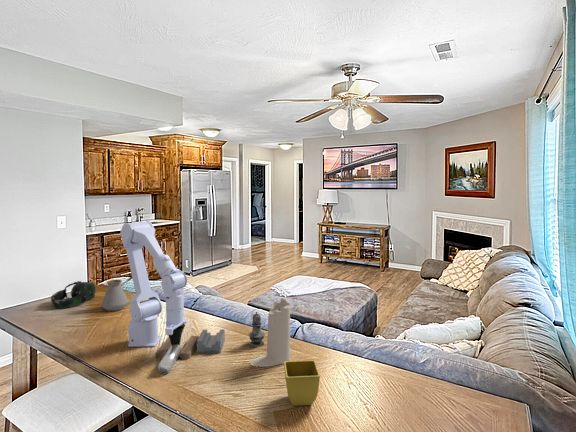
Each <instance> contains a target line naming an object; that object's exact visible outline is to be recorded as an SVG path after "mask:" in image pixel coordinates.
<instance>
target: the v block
mask: <svg viewBox="0 0 576 432" xmlns="http://www.w3.org/2000/svg"><path fill="white" fill-rule="evenodd" d="M198 336H199V338H198V340H197V346H196V353H197V354H221V352H222V349H223V347H224V343H225V340H226V331H225V328H224V329H221V328H220V329H219V331H218V332H217V333H216V335H215V334H213V335H212V333H211V332H208V329H202V330H201V333H200V334H199V335H198Z"/></svg>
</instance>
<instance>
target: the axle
mask: <svg viewBox="0 0 576 432" xmlns="http://www.w3.org/2000/svg"><path fill="white" fill-rule="evenodd" d="M182 350H183V347H182V346H181V344H180V345H178V344H173V345H172V346H171V347H170V348H169V350H168V351H167V353H166V354H165V356H164V357H163V359H160V362H158V363H159V364H158V365H157V369H158V371H159V373H160V374H163V375H164V374H165V375H166V374H169V373H170V372H171V370H172V369H173V367H174V365H175V364H176V362H177V360H178V358H179V357H180V356H181V355H180V353H181V352H182Z"/></svg>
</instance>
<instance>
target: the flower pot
mask: <svg viewBox="0 0 576 432" xmlns="http://www.w3.org/2000/svg"><path fill="white" fill-rule="evenodd" d="M283 368H284V377H285V379H284V380H285V384H286V390H287V396H288V399H289V402H290V403H291V405H292V406H293V407H297V406H311V405H313V404H314V403H315V401H316V399H317V397H318V393H319V387H320V378H321V373H320V372H319V369H318V366H317V363H316V360H313V359H307V360H289V361H285V362H284V364H283Z"/></svg>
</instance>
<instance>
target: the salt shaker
mask: <svg viewBox="0 0 576 432" xmlns="http://www.w3.org/2000/svg"><path fill="white" fill-rule="evenodd" d="M262 324H263V323H261V314H259V313H258V311H255V314H253V315H252V323H251V326H252V331H251V332H249V333H248V336H249V340H250V342H249V346H251V347H253V348H260V347H262V346H264V345H265V342H264V341H263V340H264V337H265V335H266V333H265V332H264V331H262Z"/></svg>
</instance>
